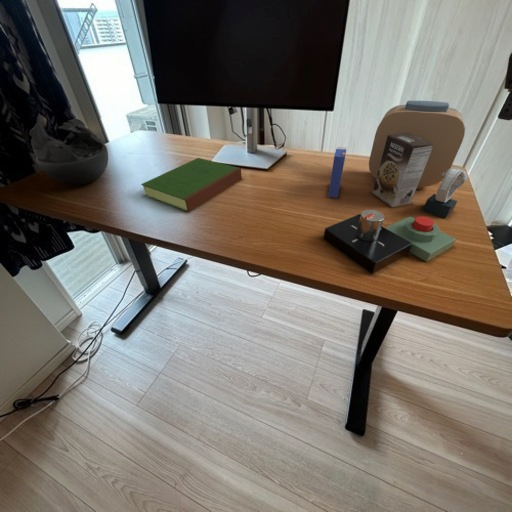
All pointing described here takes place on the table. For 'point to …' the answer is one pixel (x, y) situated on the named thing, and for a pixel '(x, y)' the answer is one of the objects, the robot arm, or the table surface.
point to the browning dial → (369, 225)
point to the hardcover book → (192, 183)
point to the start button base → (422, 239)
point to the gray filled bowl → (70, 153)
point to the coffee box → (401, 168)
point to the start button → (423, 224)
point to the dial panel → (367, 245)
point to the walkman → (337, 171)
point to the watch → (446, 193)
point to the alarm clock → (423, 135)
